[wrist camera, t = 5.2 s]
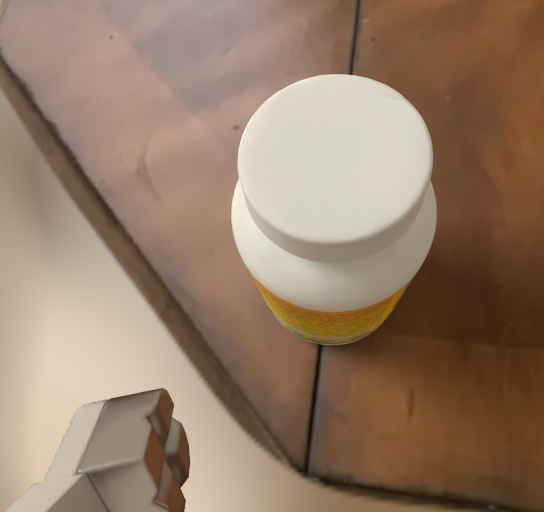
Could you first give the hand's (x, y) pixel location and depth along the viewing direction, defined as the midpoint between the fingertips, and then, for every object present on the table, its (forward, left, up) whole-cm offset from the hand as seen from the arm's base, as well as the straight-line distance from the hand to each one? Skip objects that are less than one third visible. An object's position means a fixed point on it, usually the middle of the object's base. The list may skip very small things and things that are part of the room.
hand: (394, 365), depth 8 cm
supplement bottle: (-1, +4, -9) cm, 10 cm away
